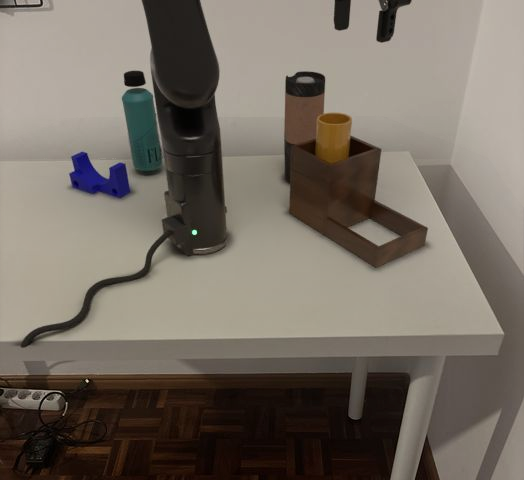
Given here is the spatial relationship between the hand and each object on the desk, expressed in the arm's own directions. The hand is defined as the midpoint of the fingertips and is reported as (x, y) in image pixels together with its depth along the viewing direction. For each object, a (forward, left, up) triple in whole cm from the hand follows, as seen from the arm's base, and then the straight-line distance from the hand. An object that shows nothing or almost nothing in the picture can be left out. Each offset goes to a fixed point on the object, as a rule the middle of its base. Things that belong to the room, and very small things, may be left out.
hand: (361, 35), depth 78 cm
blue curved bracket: (-27, +44, -32) cm, 61 cm away
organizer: (+4, +1, -32) cm, 32 cm away
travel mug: (+9, +23, -32) cm, 41 cm away
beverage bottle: (-15, +46, -32) cm, 58 cm away
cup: (+3, +8, -23) cm, 24 cm away
